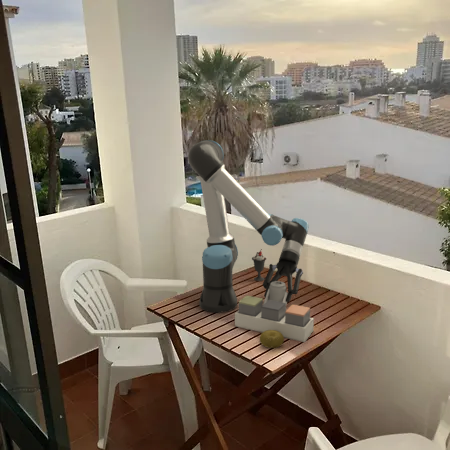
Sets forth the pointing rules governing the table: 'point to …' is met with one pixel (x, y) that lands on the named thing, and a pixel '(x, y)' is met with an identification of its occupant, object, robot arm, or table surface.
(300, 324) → the key terracotta
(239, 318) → the light grey piece
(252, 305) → the key olive
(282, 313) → the key charcoal
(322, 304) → the table surface
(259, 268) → the sundae
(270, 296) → the beverage can
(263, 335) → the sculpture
